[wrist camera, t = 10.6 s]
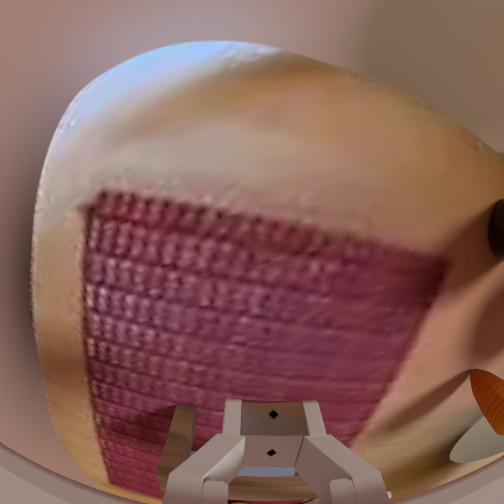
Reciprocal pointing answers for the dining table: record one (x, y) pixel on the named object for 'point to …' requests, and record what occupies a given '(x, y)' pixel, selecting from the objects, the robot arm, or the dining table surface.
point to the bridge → (240, 486)
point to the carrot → (489, 397)
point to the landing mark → (264, 471)
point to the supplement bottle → (497, 231)
